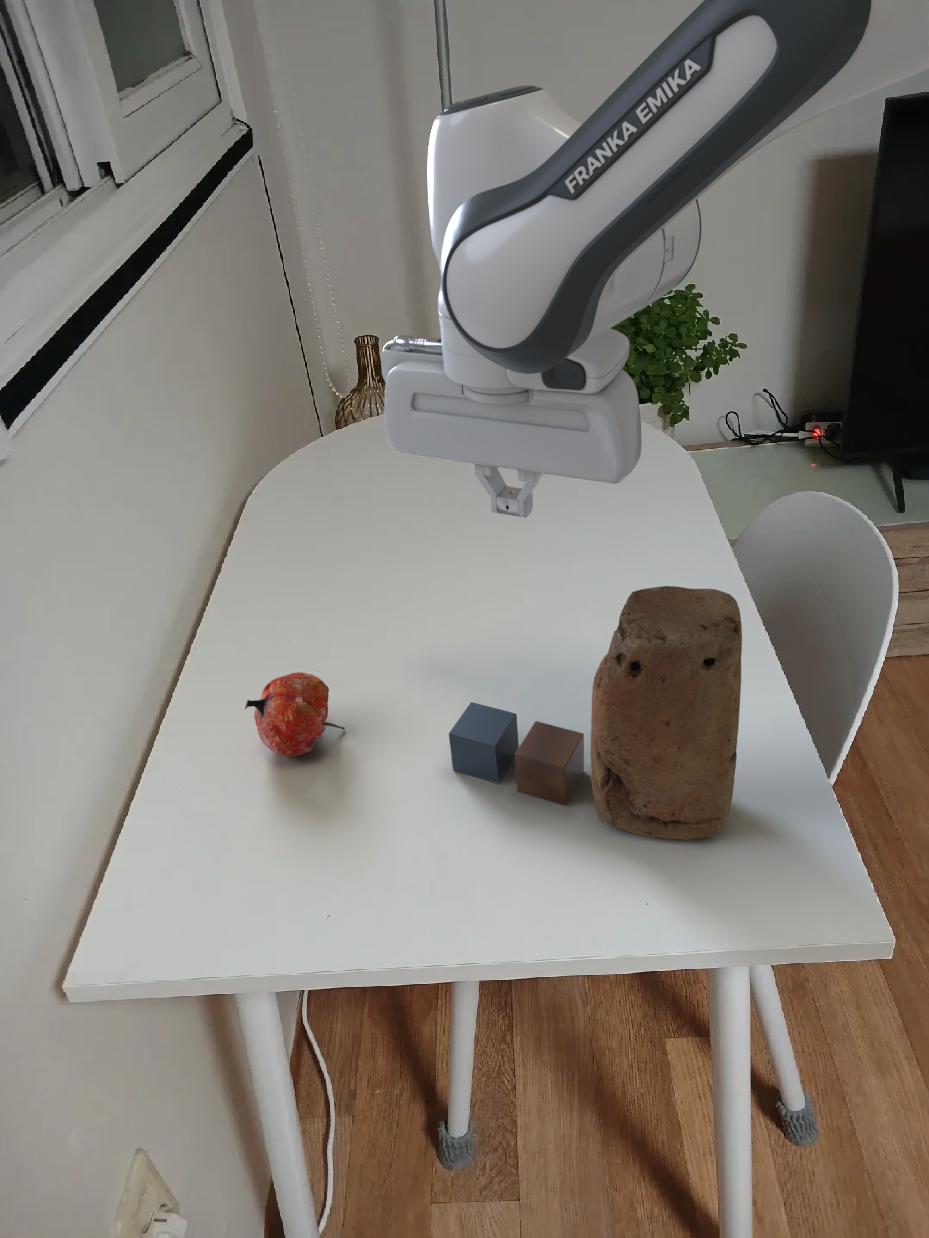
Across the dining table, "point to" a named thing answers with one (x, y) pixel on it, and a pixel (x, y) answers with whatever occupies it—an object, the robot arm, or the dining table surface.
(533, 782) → the walnut cube
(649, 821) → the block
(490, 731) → the slate cube
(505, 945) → the dining table surface
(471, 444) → the robot arm
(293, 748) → the pomegranate
